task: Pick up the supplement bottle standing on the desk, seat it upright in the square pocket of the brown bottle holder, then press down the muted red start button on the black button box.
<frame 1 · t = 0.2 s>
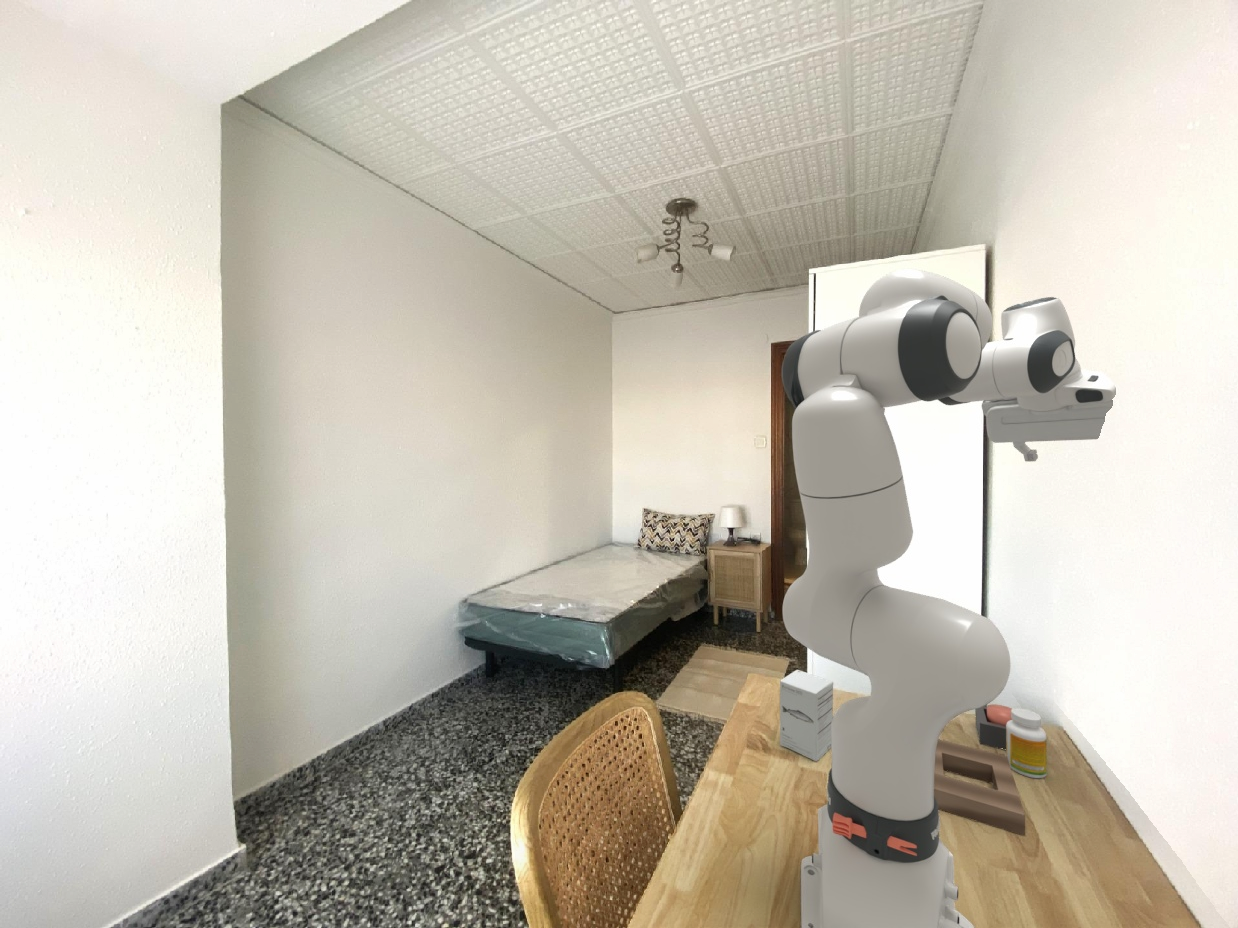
hand: (1064, 459, 86), 54 cm above the table, tool tilted 30°, fingers open, 8 cm apart
brown bottle holder: (968, 788, 79), on the table
button box: (1003, 739, 92), on the table
start button: (1003, 718, 92), point 4 cm above the table, slide at 0.0 cm
supplement box: (806, 747, 91), on the table
supplement bottle: (1026, 770, 84), on the table
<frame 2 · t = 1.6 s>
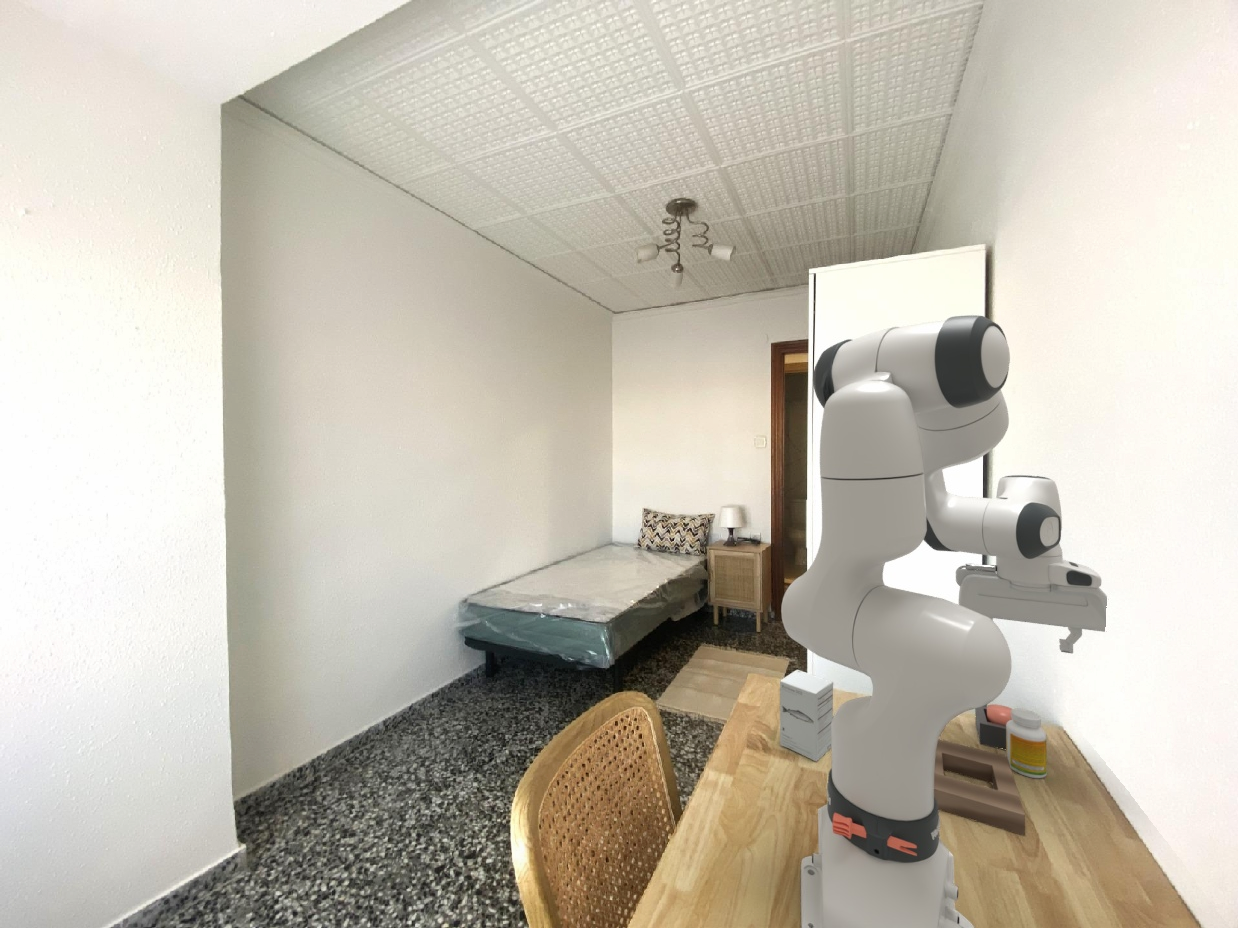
hand: (1029, 646, 84), 21 cm above the table, tool pointing down, fingers open, 8 cm apart
nothing on the table moved.
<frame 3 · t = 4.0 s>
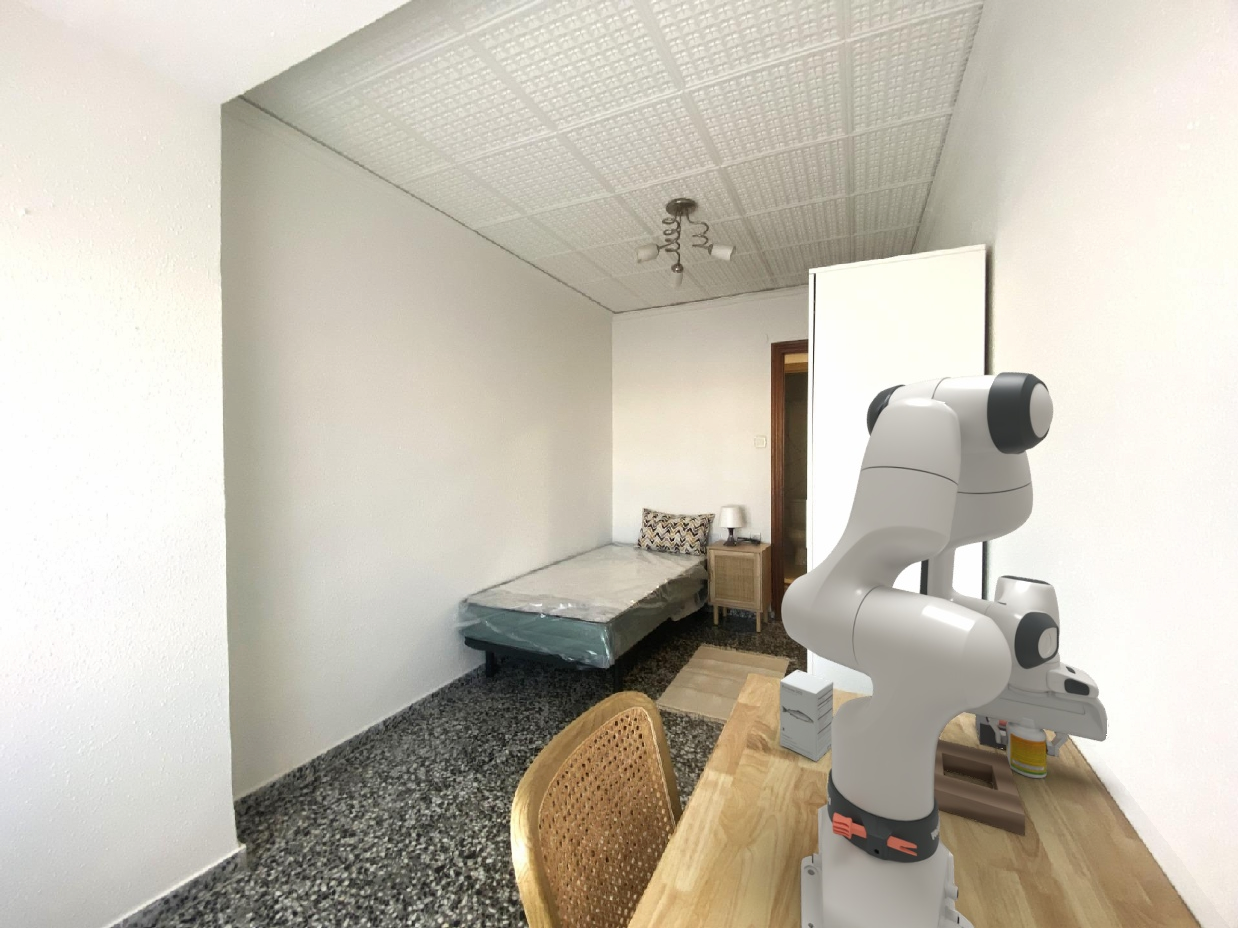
hand: (1026, 748, 84), 4 cm above the table, tool pointing down, fingers closed on supplement bottle, 5 cm apart
supplement bottle: (1026, 770, 84), on the table, touching gripper
everything else where it was.
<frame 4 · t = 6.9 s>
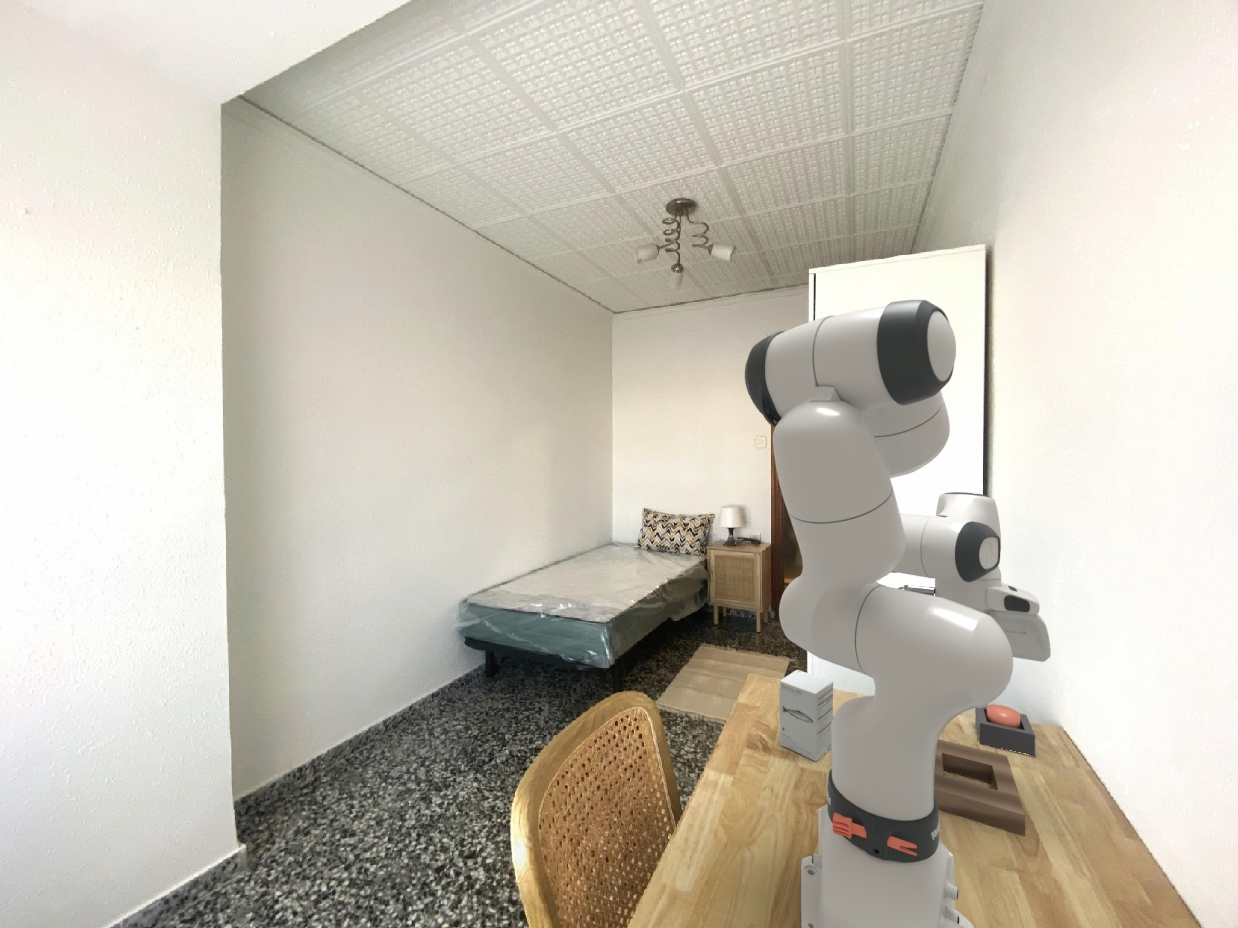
hand: (967, 675, 79), 19 cm above the table, tool pointing down, fingers closed on supplement bottle, 5 cm apart
supplement bottle: (967, 701, 79), point 14 cm above the table, touching gripper
everything else where it was.
when the fingers open (5 cm above the table, at t = 9.9 s): supplement bottle stays where it is, resting in brown bottle holder.
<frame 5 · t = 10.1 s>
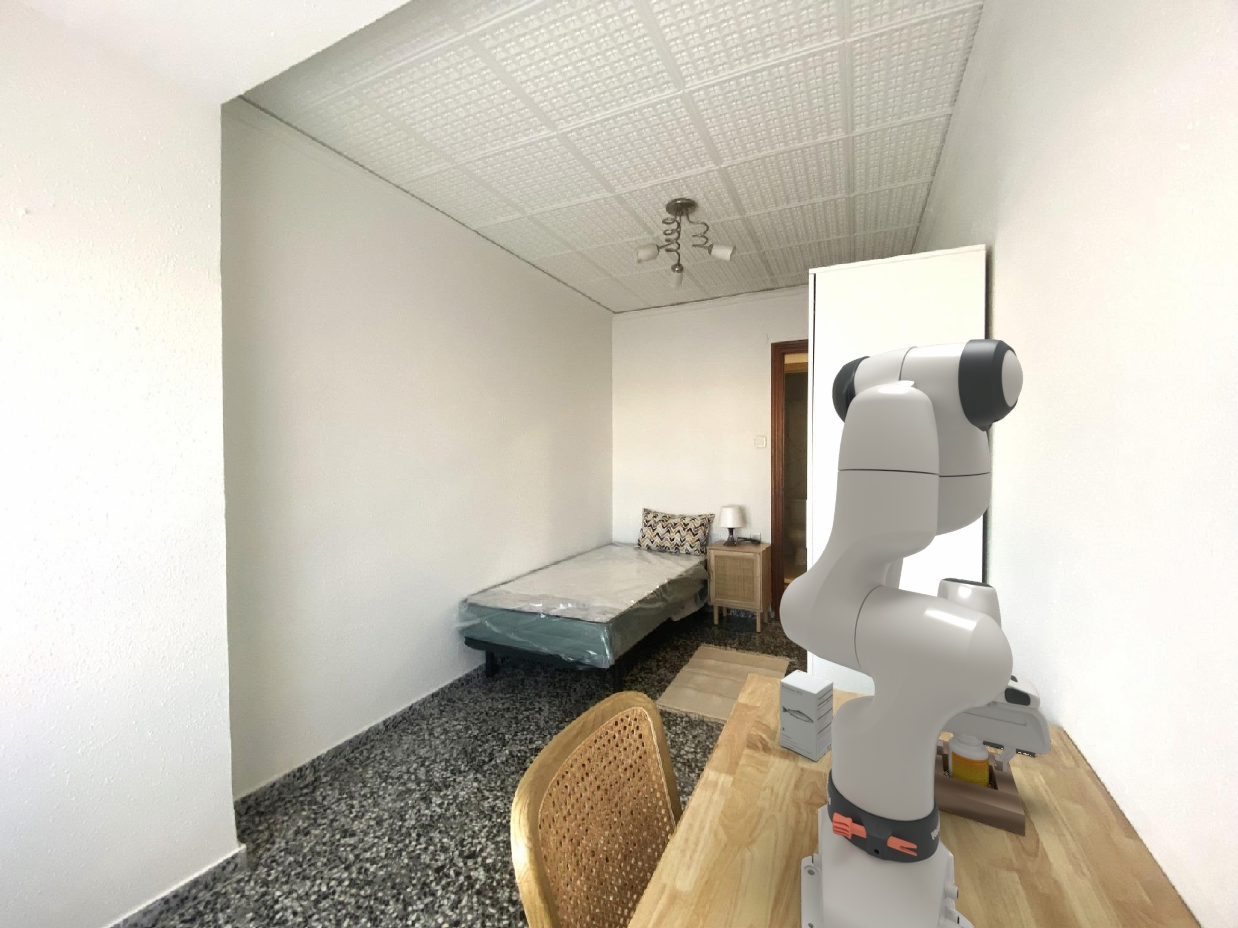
hand: (968, 760, 79), 5 cm above the table, tool pointing down, fingers open, 7 cm apart
supplement bottle: (968, 789, 79), resting in brown bottle holder
everything else where it was.
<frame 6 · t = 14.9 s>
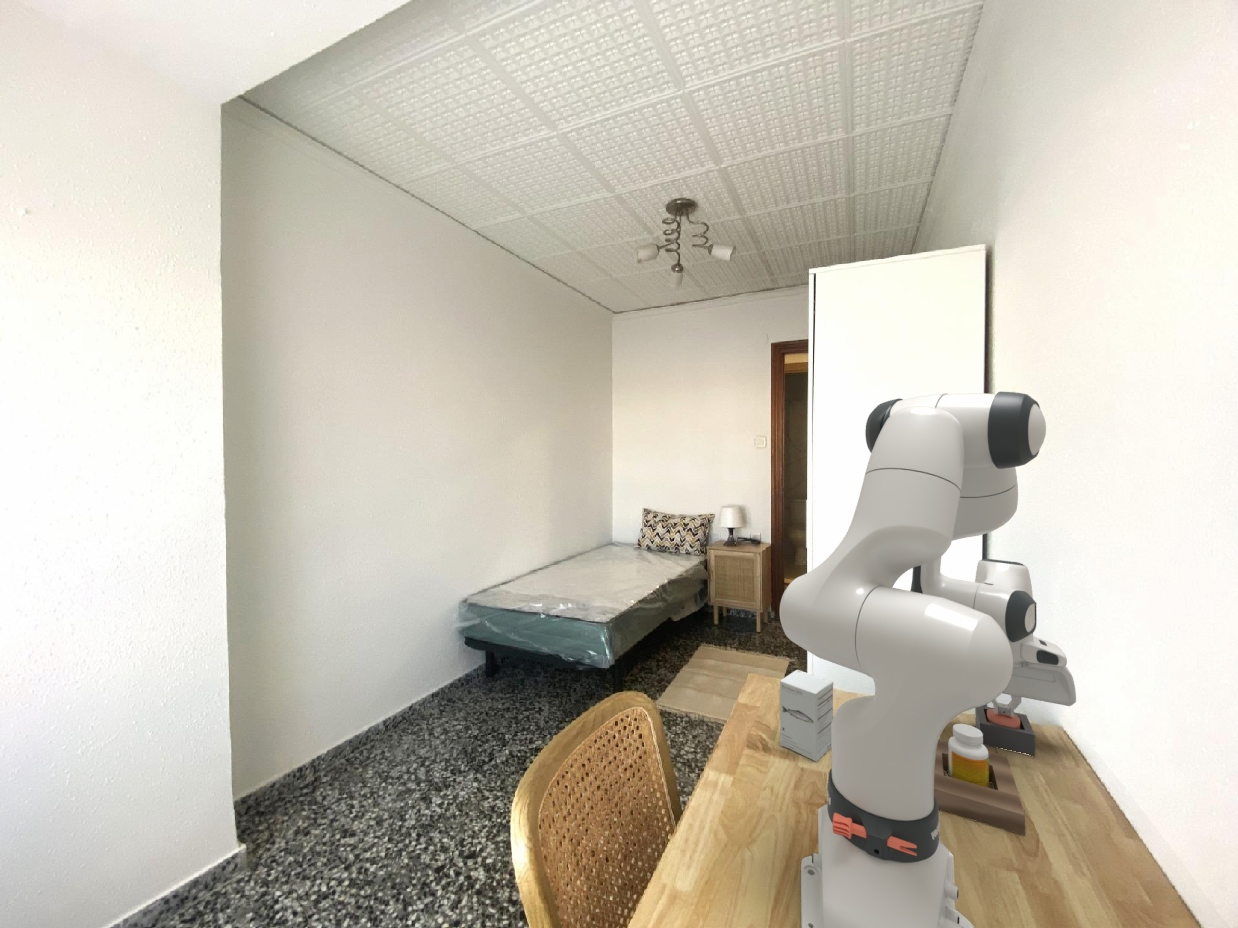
hand: (1003, 714, 92), 5 cm above the table, tool pointing down, fingers closed, pressing on start button
start button: (1003, 722, 92), point 3 cm above the table, slide at 0.8 cm, touching gripper
everything else where it was.
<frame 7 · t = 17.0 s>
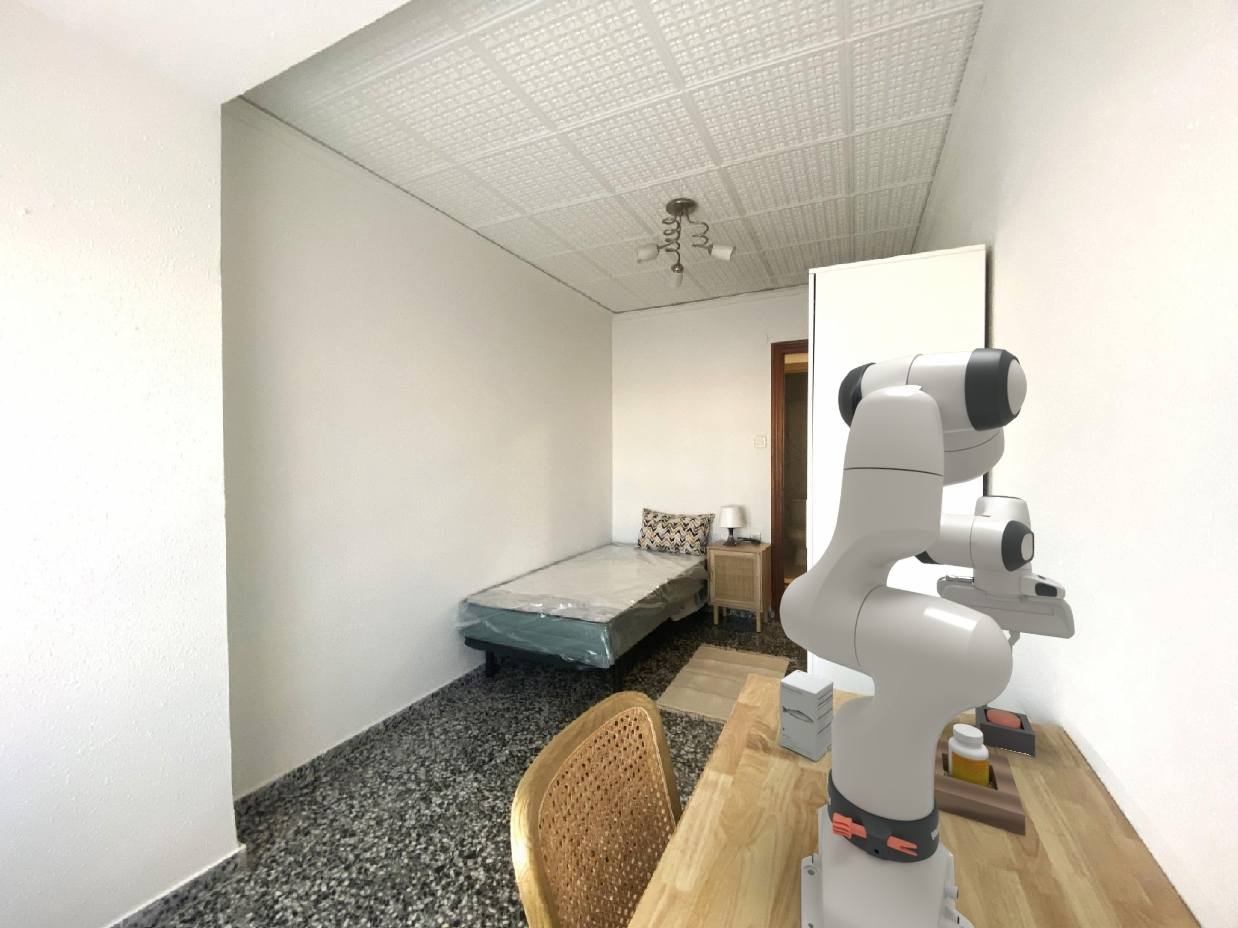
hand: (1002, 651, 92), 17 cm above the table, tool pointing down, fingers closed
start button: (1003, 723, 92), point 3 cm above the table, slide at 1.0 cm
everything else where it was.
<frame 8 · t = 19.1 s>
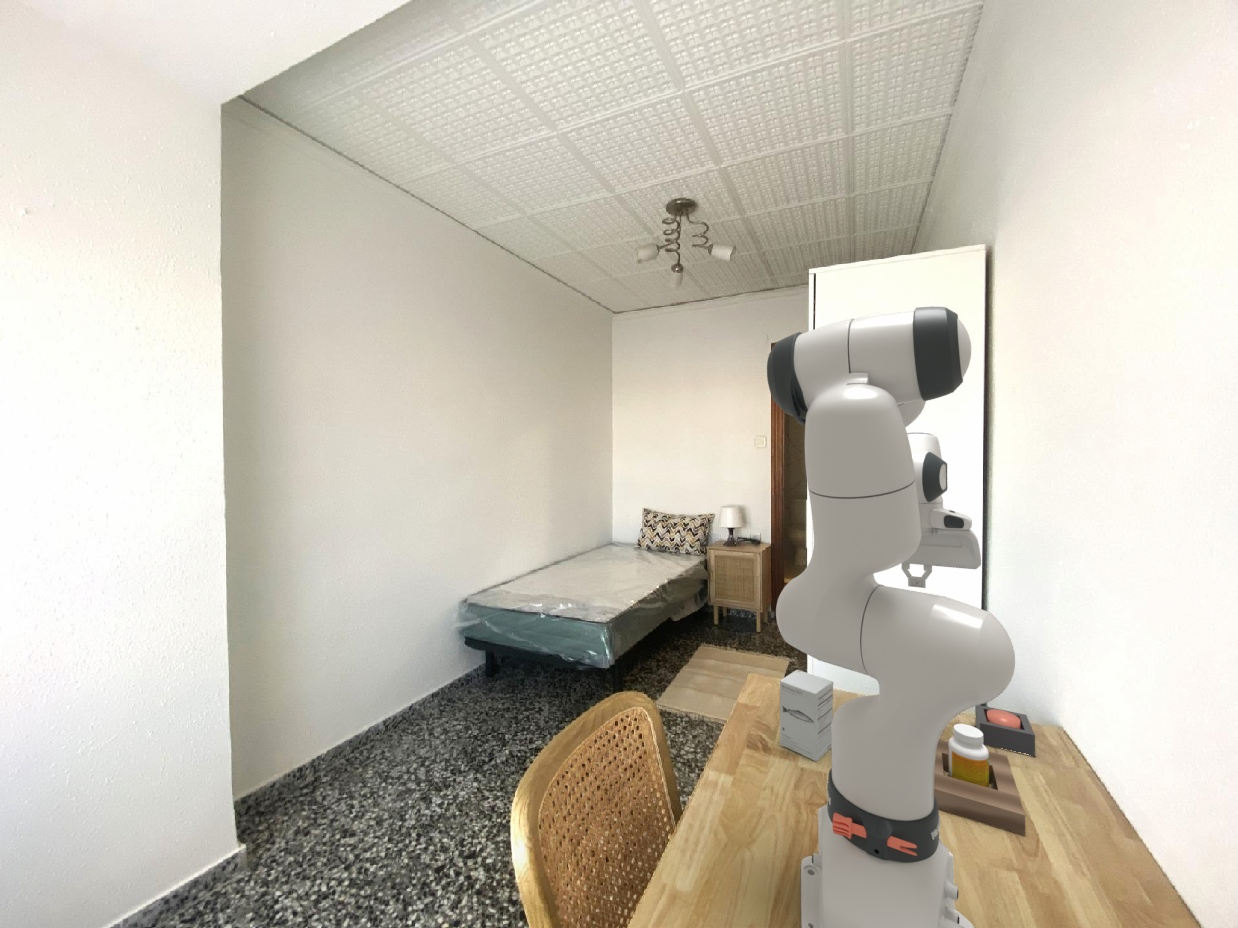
hand: (916, 586, 94), 29 cm above the table, tool pointing down, fingers closed
nothing on the table moved.
at the end: supplement bottle 0.1 cm from the brown bottle holder (horizontally); supplement bottle tilted 0°; start button slide at 1.0 cm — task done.
